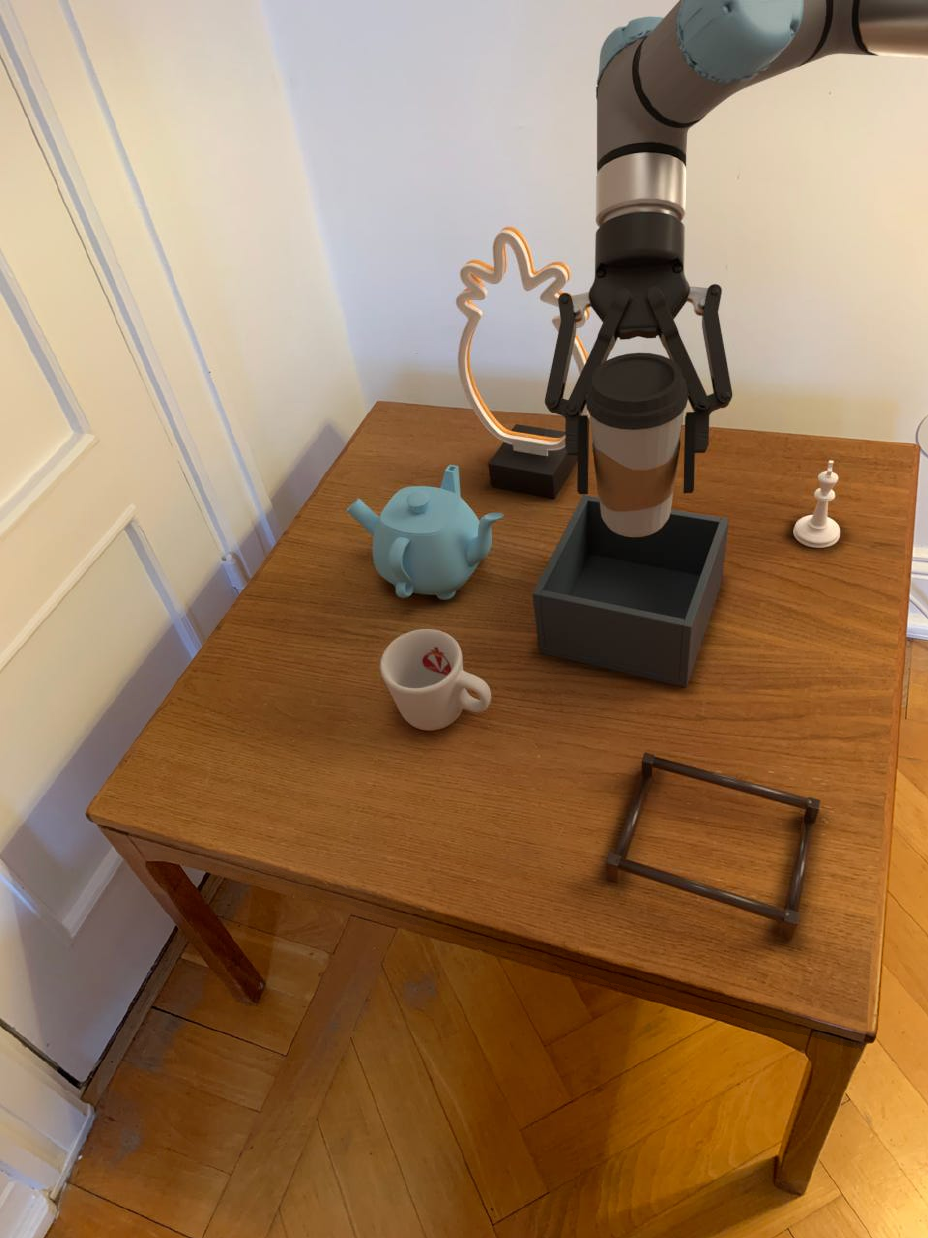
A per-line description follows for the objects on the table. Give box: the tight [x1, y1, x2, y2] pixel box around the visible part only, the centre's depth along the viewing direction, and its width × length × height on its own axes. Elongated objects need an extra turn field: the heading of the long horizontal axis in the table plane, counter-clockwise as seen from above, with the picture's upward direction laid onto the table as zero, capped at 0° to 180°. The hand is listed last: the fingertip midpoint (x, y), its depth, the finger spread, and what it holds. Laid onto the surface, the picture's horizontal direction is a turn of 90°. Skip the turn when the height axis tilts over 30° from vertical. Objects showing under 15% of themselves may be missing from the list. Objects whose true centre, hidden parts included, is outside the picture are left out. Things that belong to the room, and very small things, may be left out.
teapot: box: [346, 464, 504, 601], centre depth 97 cm, size 15×14×11 cm
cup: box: [379, 628, 492, 732], centre depth 84 cm, size 11×8×8 cm
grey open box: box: [531, 494, 730, 688], centre depth 89 cm, size 16×16×9 cm
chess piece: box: [792, 459, 841, 549], centre depth 93 cm, size 5×5×10 cm
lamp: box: [455, 226, 591, 500], centre depth 100 cm, size 17×9×32 cm, turn 64°
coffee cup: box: [586, 352, 689, 537], centre depth 75 cm, size 8×8×15 cm
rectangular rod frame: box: [605, 751, 822, 941], centre depth 72 cm, size 15×11×3 cm
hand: (635, 491), depth 74 cm, fingers closed on coffee cup, 8 cm apart
